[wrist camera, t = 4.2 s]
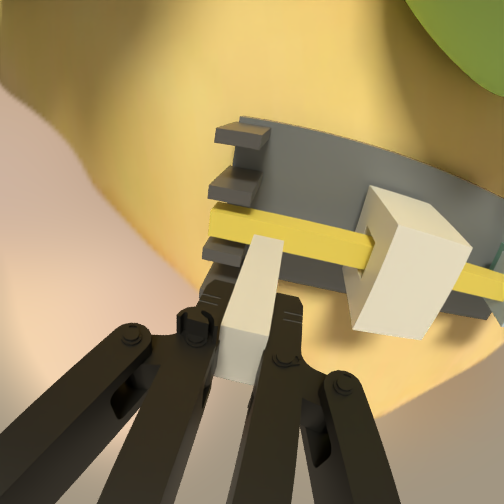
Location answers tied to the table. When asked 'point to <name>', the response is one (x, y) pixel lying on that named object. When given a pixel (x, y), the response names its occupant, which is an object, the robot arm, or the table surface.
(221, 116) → the table surface
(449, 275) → the sleeve
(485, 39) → the teapot
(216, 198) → the cable comb board
